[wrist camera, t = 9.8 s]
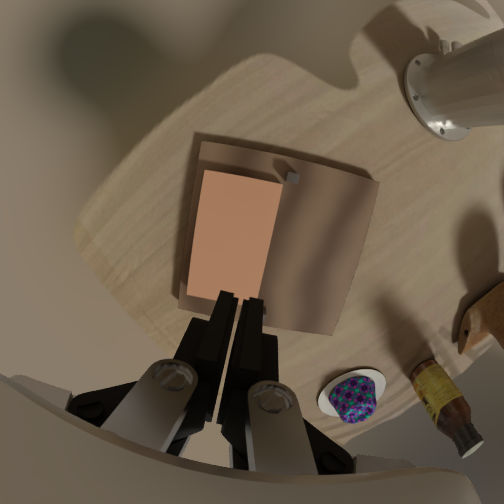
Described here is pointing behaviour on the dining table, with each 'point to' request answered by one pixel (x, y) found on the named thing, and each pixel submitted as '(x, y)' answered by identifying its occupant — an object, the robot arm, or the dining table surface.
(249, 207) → the tile
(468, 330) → the clay platform pipe
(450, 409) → the sauce bottle
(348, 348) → the dining table surface
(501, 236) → the dining table surface
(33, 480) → the robot arm
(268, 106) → the dining table surface
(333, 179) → the board
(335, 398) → the patterned brimmed hat
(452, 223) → the dining table surface
